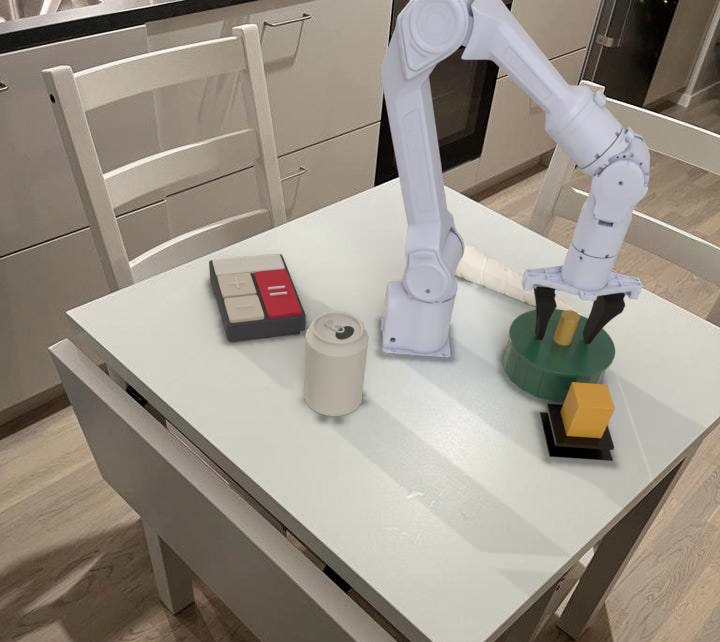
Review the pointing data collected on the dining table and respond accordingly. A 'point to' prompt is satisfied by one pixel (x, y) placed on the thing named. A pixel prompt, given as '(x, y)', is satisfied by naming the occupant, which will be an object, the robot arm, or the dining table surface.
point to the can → (335, 363)
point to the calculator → (256, 297)
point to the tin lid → (561, 345)
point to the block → (587, 410)
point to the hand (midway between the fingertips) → (562, 337)
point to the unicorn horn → (496, 277)
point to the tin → (540, 378)
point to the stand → (573, 439)
